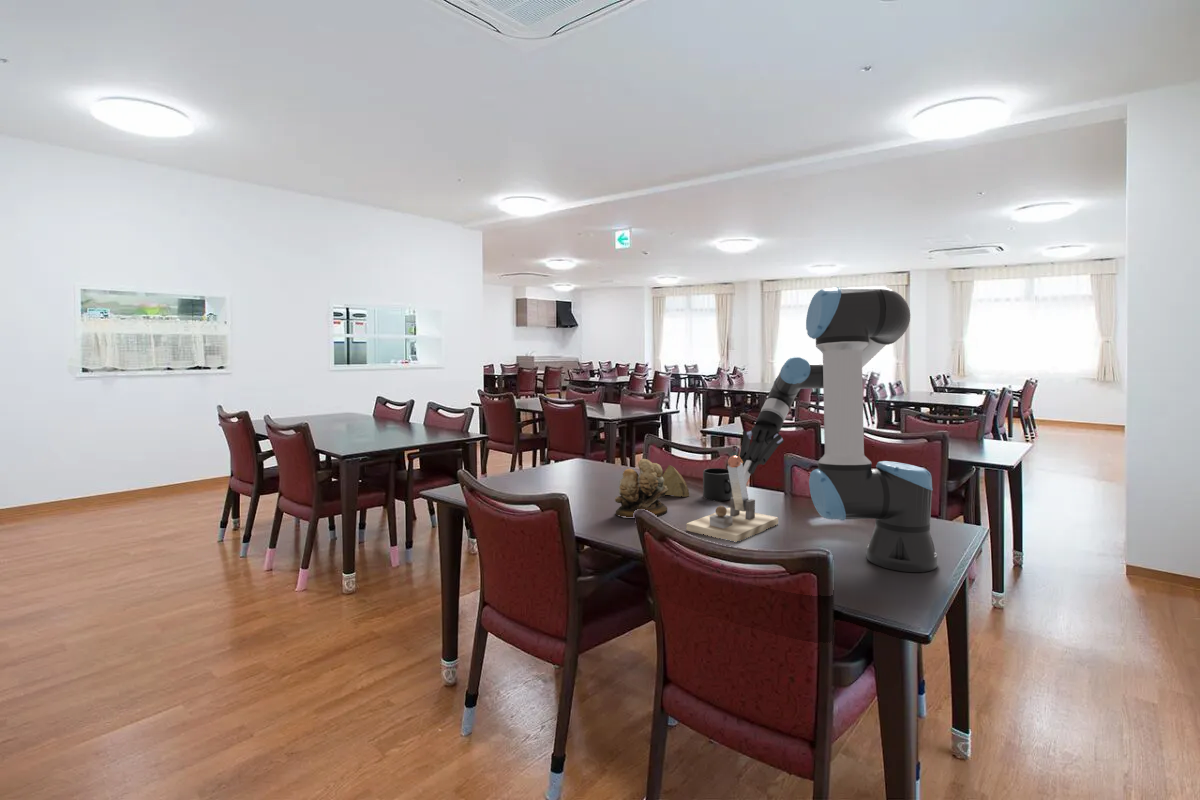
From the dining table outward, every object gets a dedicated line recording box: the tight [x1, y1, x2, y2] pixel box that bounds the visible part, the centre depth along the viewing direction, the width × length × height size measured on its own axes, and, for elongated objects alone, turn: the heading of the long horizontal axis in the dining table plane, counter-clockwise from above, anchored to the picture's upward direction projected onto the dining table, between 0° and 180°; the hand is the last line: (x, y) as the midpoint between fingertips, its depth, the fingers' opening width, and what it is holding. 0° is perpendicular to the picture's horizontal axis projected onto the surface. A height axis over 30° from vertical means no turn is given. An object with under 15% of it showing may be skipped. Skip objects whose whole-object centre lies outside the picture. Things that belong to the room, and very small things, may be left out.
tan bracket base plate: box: [686, 496, 779, 542], centre depth 174 cm, size 22×16×7 cm
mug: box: [702, 467, 733, 502], centre depth 205 cm, size 9×12×9 cm
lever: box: [727, 455, 750, 512], centre depth 175 cm, size 4×4×17 cm
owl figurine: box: [614, 458, 668, 517], centre depth 189 cm, size 18×12×17 cm, turn 119°
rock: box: [662, 464, 690, 498], centre depth 210 cm, size 11×9×10 cm
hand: (741, 481), depth 177 cm, fingers closed
